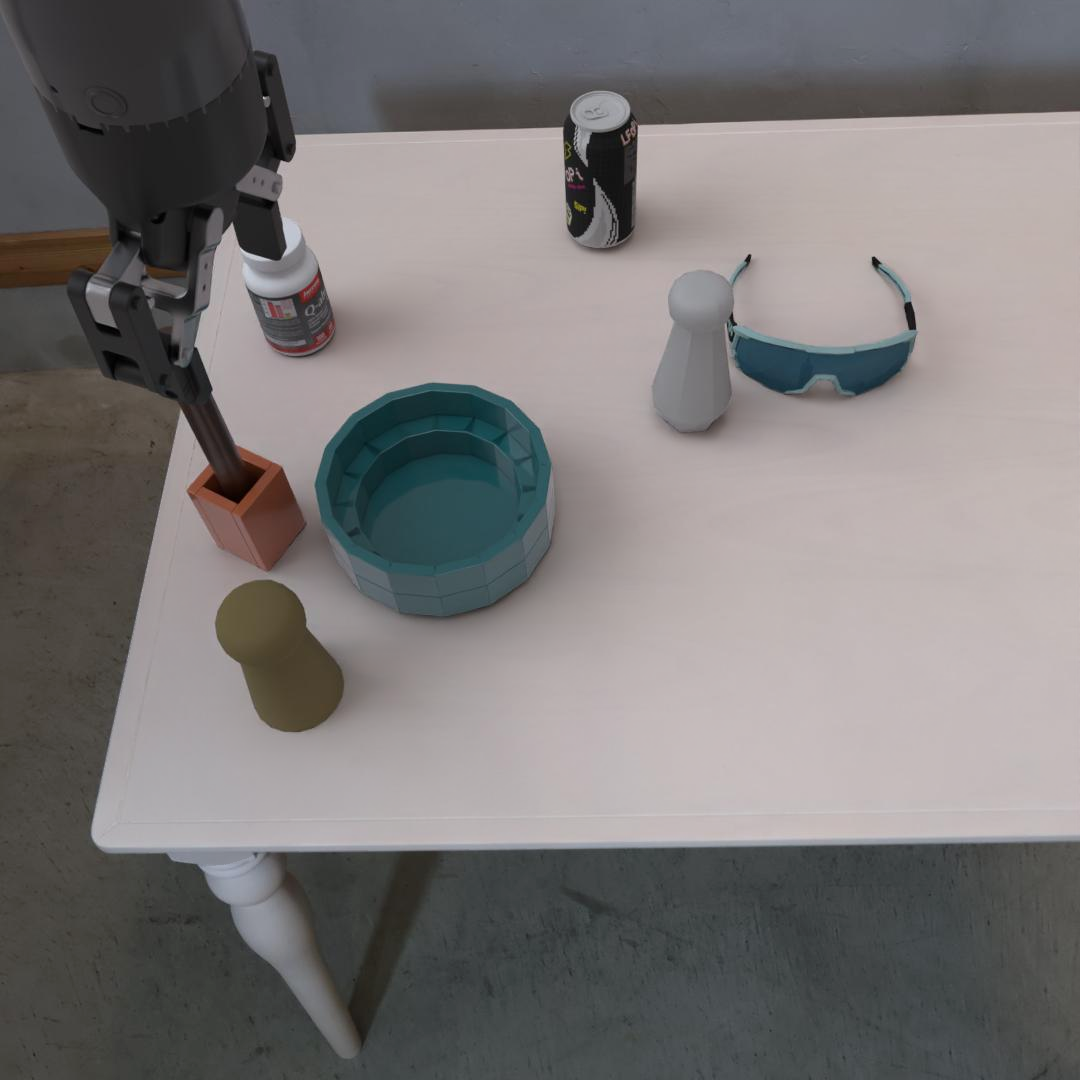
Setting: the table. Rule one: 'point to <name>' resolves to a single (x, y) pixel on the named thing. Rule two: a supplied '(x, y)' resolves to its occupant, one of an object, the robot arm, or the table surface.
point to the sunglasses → (822, 353)
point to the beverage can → (600, 169)
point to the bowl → (437, 498)
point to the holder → (250, 512)
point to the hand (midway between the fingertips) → (227, 320)
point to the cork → (279, 656)
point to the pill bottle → (290, 296)
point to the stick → (218, 446)
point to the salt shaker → (695, 353)
